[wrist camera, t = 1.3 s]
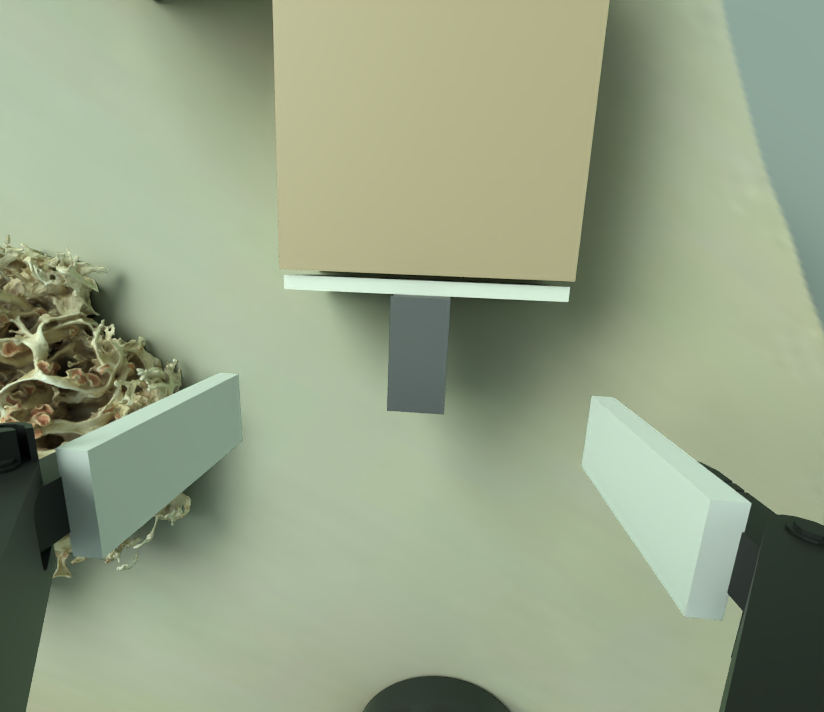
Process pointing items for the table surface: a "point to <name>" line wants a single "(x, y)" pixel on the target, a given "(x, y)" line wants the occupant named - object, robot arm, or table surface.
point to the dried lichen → (70, 365)
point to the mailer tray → (428, 287)
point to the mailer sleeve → (435, 134)
